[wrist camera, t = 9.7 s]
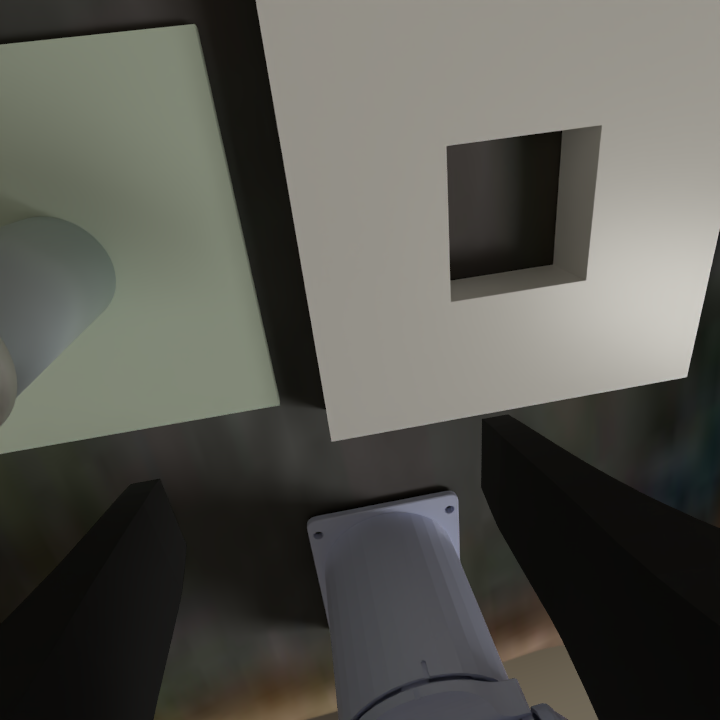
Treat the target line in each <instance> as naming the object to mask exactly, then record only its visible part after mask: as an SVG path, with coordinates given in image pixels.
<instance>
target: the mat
mask: <svg viewBox="0 0 720 720" xmlns="http://www.w3.org/2000/svg"><path fill="white" fill-rule="evenodd" d="M39 216H45V217H54V218H59V219H63V220H66V221H68V222H71V223H73V224H75V225H77V226H79V227H81V228H83V229H84V230H85V231H87V232H88V233H90V234H91V235H92V236H93V237H94V238H96V240H97V241H98V242H99V243H100V244H101V245H102V246H103V248H104V249H105V250H106V252H107V254H108V255H109V257H110V259H111V261H112V264H113V267H114V270H115V276H116V288H115V293H114V296H113V299H112V301H111V303H110V304H109V306H108V307H107V308H106V310H105V311H103V312H102V313H101V314H100V315H99V316H98V317H97V318H96V319H95V320H94V321H93V322H92V323H91V324H90V325H89V326H88V327H87V328H86V329H85V330H84V331H83V332H82V333H81V334H80V335H79V336H78V337H77V338H76V339H75V340H74V341H73V342H72V343H71V344H70V345H69V346H68V347H67V348H66V349H65V350H64V351H63V352H62V353H61V354H60V355H59V356H58V357H57V358H56V359H55V360H54V361H53V362H52V363H51V364H50V365H49V366H48V367H47V368H46V369H45V370H44V371H43V372H42V373H41V374H40V375H39V376H38V377H37V378H36V379H35V380H34V381H33V382H32V383H31V384H30V385H29V386H28V387H27V388H26V389H25V390H24V391H23V392H22V393H21V394H20V395H19V396H18V397H17V398H16V400H15V404H14V407H13V409H12V411H11V413H10V415H9V417H8V418H7V419H6V421H5V422H4V423H3V425H2V426H1V427H0V454H2V453H8V452H14V451H19V450H25V449H31V448H37V447H42V446H48V445H54V444H60V443H65V442H71V441H77V440H83V439H88V438H94V437H100V436H106V435H111V434H117V433H123V432H129V431H134V430H140V429H146V428H151V427H157V426H163V425H169V424H174V423H180V422H186V421H192V420H197V419H203V418H209V417H215V416H220V415H226V414H232V413H238V412H243V411H249V410H255V409H261V408H266V407H272V406H278V405H280V398H279V394H278V389H277V385H276V380H275V376H274V371H273V367H272V362H271V358H270V353H269V349H268V344H267V340H266V335H265V331H264V326H263V322H262V317H261V313H260V308H259V304H258V299H257V295H256V290H255V286H254V281H253V277H252V272H251V268H250V263H249V258H248V254H247V249H246V245H245V240H244V236H243V231H242V227H241V222H240V218H239V213H238V209H237V204H236V200H235V195H234V191H233V186H232V182H231V177H230V173H229V168H228V164H227V159H226V155H225V150H224V146H223V141H222V137H221V132H220V128H219V123H218V119H217V114H216V109H215V105H214V100H213V96H212V91H211V87H210V82H209V78H208V73H207V69H206V64H205V60H204V55H203V51H202V46H201V42H200V37H199V33H198V28H197V26H196V25H195V24H189V25H180V26H171V27H161V28H152V29H142V30H133V31H124V32H114V33H105V34H96V35H86V36H77V37H67V38H58V39H49V40H39V41H30V42H21V43H11V44H2V45H0V227H1V226H4V225H8V224H11V223H14V222H17V221H20V220H23V219H26V218H31V217H39Z"/></svg>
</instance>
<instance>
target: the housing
mask: <svg viewBox="0 0 720 720" xmlns="http://www.w3.org/2000/svg"><path fill="white" fill-rule="evenodd" d="M256 6H257V11H258V17H259V23H260V29H261V35H262V40H263V46H264V52H265V58H266V64H267V70H268V75H269V81H270V87H271V93H272V99H273V104H274V110H275V116H276V122H277V128H278V133H279V139H280V145H281V151H282V157H283V162H284V168H285V174H286V180H287V186H288V191H289V197H290V203H291V209H292V215H293V220H294V226H295V232H296V238H297V244H298V249H299V255H300V261H301V267H302V273H303V278H304V284H305V290H306V296H307V302H308V308H309V313H310V319H311V325H312V331H313V337H314V342H315V348H316V354H317V360H318V366H319V371H320V377H321V383H322V389H323V395H324V400H325V406H326V412H327V418H328V424H329V429H330V435H331V441H332V442H333V441H338V440H344V439H349V438H355V437H360V436H366V435H371V434H377V433H382V432H388V431H393V430H399V429H404V428H410V427H415V426H421V425H426V424H432V423H437V422H443V421H448V420H454V419H459V418H465V417H470V416H476V415H481V414H487V413H492V412H498V411H503V410H509V409H514V408H520V407H525V406H531V405H536V404H542V403H547V402H553V401H558V400H564V399H569V398H575V397H580V396H586V395H591V394H597V393H602V392H608V391H613V390H619V389H624V388H630V387H635V386H641V385H646V384H651V383H657V382H662V381H668V380H673V379H679V378H684V377H687V374H688V369H689V365H690V360H691V356H692V351H693V347H694V342H695V338H696V333H697V329H698V324H699V320H700V315H701V311H702V306H703V302H704V297H705V292H706V288H707V283H708V279H709V274H710V270H711V265H712V261H713V256H714V252H715V247H716V243H717V238H718V234H719V229H720V0H256ZM561 130H562V143H561V157H560V171H559V186H558V200H557V215H556V229H555V243H554V258H553V265H546V266H540V267H534V268H527V269H521V270H515V271H508V272H502V273H496V274H489V275H483V276H476V277H470V278H464V279H457V280H451V281H450V256H449V223H448V189H447V155H446V146H449V145H456V144H464V143H471V142H479V141H486V140H494V139H501V138H509V137H516V136H524V135H531V134H539V133H546V132H554V131H561Z"/></svg>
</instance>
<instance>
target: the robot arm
mask: <svg viewBox="0 0 720 720" xmlns="http://www.w3.org/2000/svg"><path fill="white" fill-rule="evenodd" d="M481 488H482V490H483V493H484V495H485V498H486V500H487V503H488V505H489V507H490V510H491V512H492V514H493V517H494V519H495V521H496V524H497V526H498V528H499V530H500V531H501V533H502V535H503V537H504V539H505V540H506V542H507V544H508V546H509V547H510V549H511V551H512V553H513V554H514V556H515V558H516V560H517V561H518V563H519V565H520V566H521V568H522V570H523V572H524V573H525V575H526V577H527V578H528V580H529V582H530V584H531V585H532V587H533V589H534V591H535V592H536V594H537V596H538V597H539V599H540V601H541V603H542V604H543V606H544V608H545V609H546V611H547V613H548V615H549V616H550V618H551V620H552V622H553V624H554V626H555V627H556V629H557V631H558V633H559V635H560V637H561V639H562V641H563V643H564V645H565V647H566V649H567V651H568V653H569V656H570V658H571V660H572V662H573V664H574V666H575V669H576V671H577V673H578V675H579V677H580V679H581V681H582V684H583V686H584V688H585V690H586V692H587V694H588V697H589V699H590V701H591V704H592V706H593V708H594V710H595V713H596V715H597V717H598V719H599V720H720V528H718V527H715V526H713V525H711V524H708V523H706V522H703V521H701V520H699V519H696V518H694V517H692V516H690V515H688V514H685V513H683V512H681V511H679V510H677V509H674V508H672V507H670V506H668V505H666V504H663V503H661V502H659V501H657V500H655V499H653V498H651V497H649V496H647V495H645V494H643V493H641V492H639V491H637V490H635V489H633V488H631V487H629V486H628V485H626V484H624V483H622V482H620V481H618V480H616V479H614V478H613V477H611V476H609V475H607V474H605V473H604V472H602V471H600V470H598V469H596V468H595V467H593V466H591V465H589V464H588V463H586V462H584V461H583V460H581V459H579V458H578V457H576V456H574V455H573V454H571V453H569V452H568V451H566V450H564V449H563V448H561V447H560V446H558V445H556V444H555V443H553V442H552V441H550V440H548V439H547V438H545V437H544V436H542V435H540V434H539V433H537V432H536V431H534V430H532V429H531V428H529V427H528V426H526V425H525V424H523V423H521V422H520V421H518V420H516V419H515V418H513V417H511V416H510V415H502V416H497V417H492V418H486V419H482V470H481ZM448 506H451V507H449V508H446V507H448ZM307 531H308V535H309V540H310V544H311V549H312V553H313V558H314V562H315V566H316V571H317V575H318V580H319V584H320V589H321V593H322V598H323V602H324V607H325V611H326V616H327V620H328V625H329V629H330V634H331V645H332V655H333V666H334V676H335V687H336V697H337V708H338V718H339V720H568V719H566V718H565V717H563V716H562V715H560V714H559V713H557V712H555V711H554V710H553V709H552V708H551V707H550V706H549V705H547V704H543V703H542V704H538V705H535V706H532V707H531V711H530V708H529V706H528V704H527V702H526V699H525V697H524V694H523V692H522V690H521V688H520V686H519V683H518V681H517V679H515V678H512V679H508V676H507V674H506V671H505V669H504V666H503V664H502V662H501V659H500V657H499V654H498V652H497V650H496V647H495V645H494V642H493V640H492V638H491V635H490V633H489V630H488V628H487V625H486V623H485V621H484V618H483V616H482V613H481V611H480V609H479V606H478V604H477V601H476V599H475V597H474V594H473V592H472V589H471V587H470V584H469V582H468V580H467V577H466V575H465V572H464V570H463V568H462V565H461V563H460V546H459V510H458V498H457V496H456V494H455V493H454V492H453V491H443V492H438V493H433V494H428V495H423V496H417V497H412V498H407V499H402V500H397V501H392V502H387V503H381V504H376V505H371V506H366V507H361V508H356V509H351V510H345V511H340V512H335V513H330V514H325V515H320V516H315V517H312V518H310V519H309V520H308V522H307ZM316 532H321V533H319V534H316ZM186 547H187V545H186V543H185V540H184V538H183V535H182V533H181V530H180V528H179V525H178V523H177V520H176V518H175V515H174V513H173V510H172V508H171V505H170V503H169V501H168V498H167V496H166V493H165V491H164V488H163V486H162V483H161V481H160V479H156V480H151V481H145V482H140V483H135V484H131V485H130V486H129V487H128V488H127V489H126V490H125V491H124V492H123V493H122V494H121V495H120V496H119V497H118V499H117V500H116V501H115V502H114V503H113V504H112V505H111V506H110V508H109V509H108V510H107V511H106V512H105V513H104V514H103V516H102V517H101V518H100V519H99V520H98V521H97V522H96V523H95V525H94V526H93V527H92V528H91V529H90V530H89V531H88V533H87V534H86V535H85V536H84V537H83V538H82V539H81V540H80V541H79V543H78V544H77V545H76V546H75V547H74V548H73V549H72V550H71V551H70V553H69V554H68V555H67V556H66V557H65V558H64V559H63V560H62V561H61V563H60V564H59V565H58V566H57V567H56V568H55V569H54V570H53V571H52V572H51V573H50V574H49V575H48V576H47V577H46V578H45V579H44V580H43V581H42V582H41V583H40V585H39V586H38V587H37V588H36V589H35V590H34V591H33V592H32V593H31V594H30V595H29V596H28V597H27V598H26V599H25V600H24V601H23V602H22V603H21V604H20V605H19V606H18V607H17V608H16V609H15V610H14V611H13V612H12V613H11V614H10V615H9V616H8V617H7V618H6V619H5V620H4V621H3V622H2V623H1V624H0V720H153V719H154V714H155V709H156V704H157V700H158V695H159V691H160V687H161V683H162V678H163V674H164V670H165V665H166V661H167V657H168V652H169V648H170V644H171V639H172V635H173V631H174V626H175V622H176V617H177V613H178V609H179V604H180V599H181V595H182V588H183V579H184V571H185V559H186Z"/></svg>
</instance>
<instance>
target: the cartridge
mask: <svg viewBox="0 0 720 720" xmlns="http://www.w3.org/2000/svg"><path fill="white" fill-rule="evenodd" d="M115 288H116V276H115V270H114V267H113V264H112V261H111V259H110V257H109V255H108V254H107V252H106V250H105V249H104V248H103V246H102V245H101V244H100V243H99V242H98V241H97V240H96V238H94V237H93V236H92V235H91V234H90V233H88V232H87V231H85V230H84V229H83V228H81V227H79V226H77V225H75V224H73V223H71V222H68V221H66V220H63V219H59V218H54V217H45V216H39V217H31V218H26V219H23V220H20V221H17V222H14V223H11V224H8V225H4V226H1V227H0V427H1V426H2V425H3V423H4V422H5V421H6V419H7V418H8V417H9V415H10V413H11V411H12V409H13V407H14V404H15V400H16V398H17V397H18V396H19V395H20V394H21V393H22V392H23V391H24V390H25V389H26V388H27V387H28V386H29V385H30V384H31V383H32V382H33V381H34V380H35V379H36V378H37V377H38V376H39V375H40V374H41V373H42V372H43V371H44V370H45V369H46V368H47V367H48V366H49V365H50V364H51V363H52V362H53V361H54V360H55V359H56V358H57V357H58V356H59V355H60V354H61V353H62V352H63V351H64V350H65V349H66V348H67V347H68V346H69V345H70V344H71V343H72V342H73V341H74V340H75V339H76V338H77V337H78V336H79V335H80V334H81V333H82V332H83V331H84V330H85V329H86V328H87V327H88V326H89V325H90V324H91V323H92V322H93V321H94V320H95V319H96V318H97V317H98V316H99V315H100V314H101V313H102V312H103V311H105V310H106V308H107V307H108V306H109V304H110V303H111V301H112V299H113V296H114V293H115Z"/></svg>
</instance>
